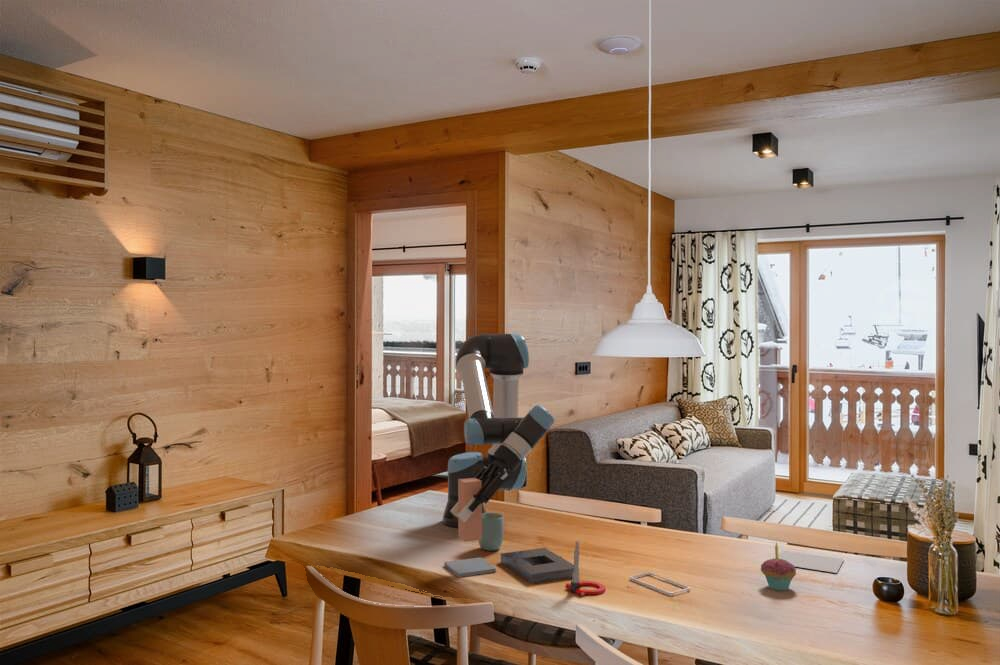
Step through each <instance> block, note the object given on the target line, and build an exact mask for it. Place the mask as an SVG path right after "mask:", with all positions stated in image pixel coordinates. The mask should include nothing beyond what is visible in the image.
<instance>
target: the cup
mask: <svg viewBox="0 0 1000 665" xmlns="http://www.w3.org/2000/svg"><path fill="white" fill-rule="evenodd" d="M504 520H505V519H504V515H503V514H502V513H497V512H486V513H483V514H482V539H481V540H477V542H478V545H479V547H480V548H481V549H482V550H483V551H487V552H488V551H491V552H493V551H497V550H499V549H501V547H502V545H503V541H504V532H505V531H504V529H505V528H504V527H505V526H504V524H505V523H504V522H505V521H504Z"/></svg>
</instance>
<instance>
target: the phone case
mask: <svg viewBox="0 0 1000 665" xmlns="http://www.w3.org/2000/svg"><path fill="white" fill-rule="evenodd" d="M645 575H652V576H651V577H653V576H654V577H657V578H659V579H660V578H661V579H662V580H664V582H666V583H668V582H669V584H671V583H672V584H671V585H673V584H674V586H676V585H677V586H676V587H678V588H679V587H680V588H681V587H682V588H681V589H678V590H676V591H668V590H665V589H662V588H661V587H658V586H655V585H653V584H650V583H648V582H646V581H643V580H641V579H639V578H638V577H640V578H643V577H642V576H644V577H646V576H645ZM631 580H632V581H631ZM629 581H631V582H633V581H634V582H633V583H636V582H637V583H636V584H638V583H639V585H641V584H642V585H641V586H643V585H645V586H644V587H646V586H647V587H646V588H648V587H649V588H648V589H651V588H652V589H651V590H653V589H654V590H653V591H656V590H657V591H656V592H658V591H659V593H661V594H663V593H664V594H663V595H665V594H666V595H665V596H668V595H669V596H668V597H674V596H675V594H677V593H681V592H685V591H686V592H687V593H689V592H691V587H690V586H688V585H685V584H683V583H680V582H677V581H675V580H672V579H669V578H667V577H664V576H662V575H659V574H656V573H653V572H651V571H648V572H647V571H646V572H643V573H639V574H638V573H637V574H635V575H631V576H629Z"/></svg>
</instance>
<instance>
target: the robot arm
mask: <svg viewBox="0 0 1000 665" xmlns="http://www.w3.org/2000/svg"><path fill="white" fill-rule="evenodd" d="M455 357H456V358H455V364H456V365H455V366H456V370H457V372H458V373H459V374H460V375H461V381H462V386H463V394H464V397H465V404H466V409H467V414H468V418H467V419H465V421H464V424H463V436H464V441H465V443H466V444H468V445H481V446H482V445H491V444H492V446H491V447H490V448H489V449H488V450H487V456H483V454H482V452H479V451H469V452H463V453H458V454H455V455H453V456H451V457H450V458H449V459H448V462H447V471H446V472H447V502H446V505H445V508H444V511H443V514H442V515H443V516H442V524H443V525H445V526H448V527H453V528H458V517H459V518H460V519H461V520H462V521H463V522H466V521H467V519H468V518H469V517H470V516H471V515H472V513H473V512H474V511H475V510H476V509H477V508H478V506H479V505H480V504H482V514H483V513H487V511H486V508H485V506H484V504H487V503H488V502H489V501H490V500H491V498H492V497H494V495H495V494H496V493H497V491H508V492H509V491H512V490H520V489H521V488H522V487H523V485H524V484H525V481H526V477H527V469H528V468H527V458H526V457H527V456H529V455H530V452H532V450H533V448H534V447H535V446H536V445H537V444H538V443H539V442H540V441H541V439H542V438H543V437H544V436H545V434H546V433H548V432H549V431H550V429H551V427H553V425H554V424H555V417H554V416H553V415H552V413H551V412H549V411H548V409H546V408H544V407H543V406H541V405H538V404H537V405H534V406H533V407H532V408H531V409H530V410H529V411H528V412H527V414H526V415H525V416H524V417H523V416H522V417H519V389H520V388H519V386H520V385H519V383H520V382H519V381H520V380H519V379H520V378H521V377H522V376H523V375H524V369H527V368H528V367H529V362H530V356H529V348H528V345H527V340H526V339H525V337H524V336H523V335H522V334H518V333H477V334H475V335H473V336H471V337H468V339H466V340H465V341H464V342H463V343H462V344H461V346H460V347H459V348H458V352H457V354H456V356H455ZM485 369H488V371H489V372H488V374H490V376H491V377H492V378H493V394H492V396H493V397H492V399H493V400H492V399H491V396H490V393H489V386H488V382H487V378H486V373H485ZM491 400H492V401H493V402H492V401H491ZM492 404H493V405H492ZM466 478H477V479H479V480H481V481H482V488H481V489H480V491H479V492H478V494H477V495H473V496H474V497H475V498H476V499H475V498H474V497H473V498H472V499H471V500H470V501H469V502H468V503H467V505H466V506H465V507H464V508H463V509H462V510H461V512H460V513H459V514H458V479H466Z"/></svg>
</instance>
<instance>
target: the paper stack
mask: <svg viewBox="0 0 1000 665" xmlns="http://www.w3.org/2000/svg"><path fill="white" fill-rule="evenodd" d="M778 558H779V559H783V560H786V561H787V562H789V563H791V564H792V565H793V566H794V567H795V568H802V569H809V570H815V571H822V572H827V573H834V574H837V573H838V572H839V570H840V568H841V566H842V564H843V563H844V561H845V559H844V558H843V559H842V558H836V557H832V556H831V557H829V556H823V555H817V554H811V553H804V552H803V553H801V552H795V551H790V550H781V552H780V553H778Z"/></svg>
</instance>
